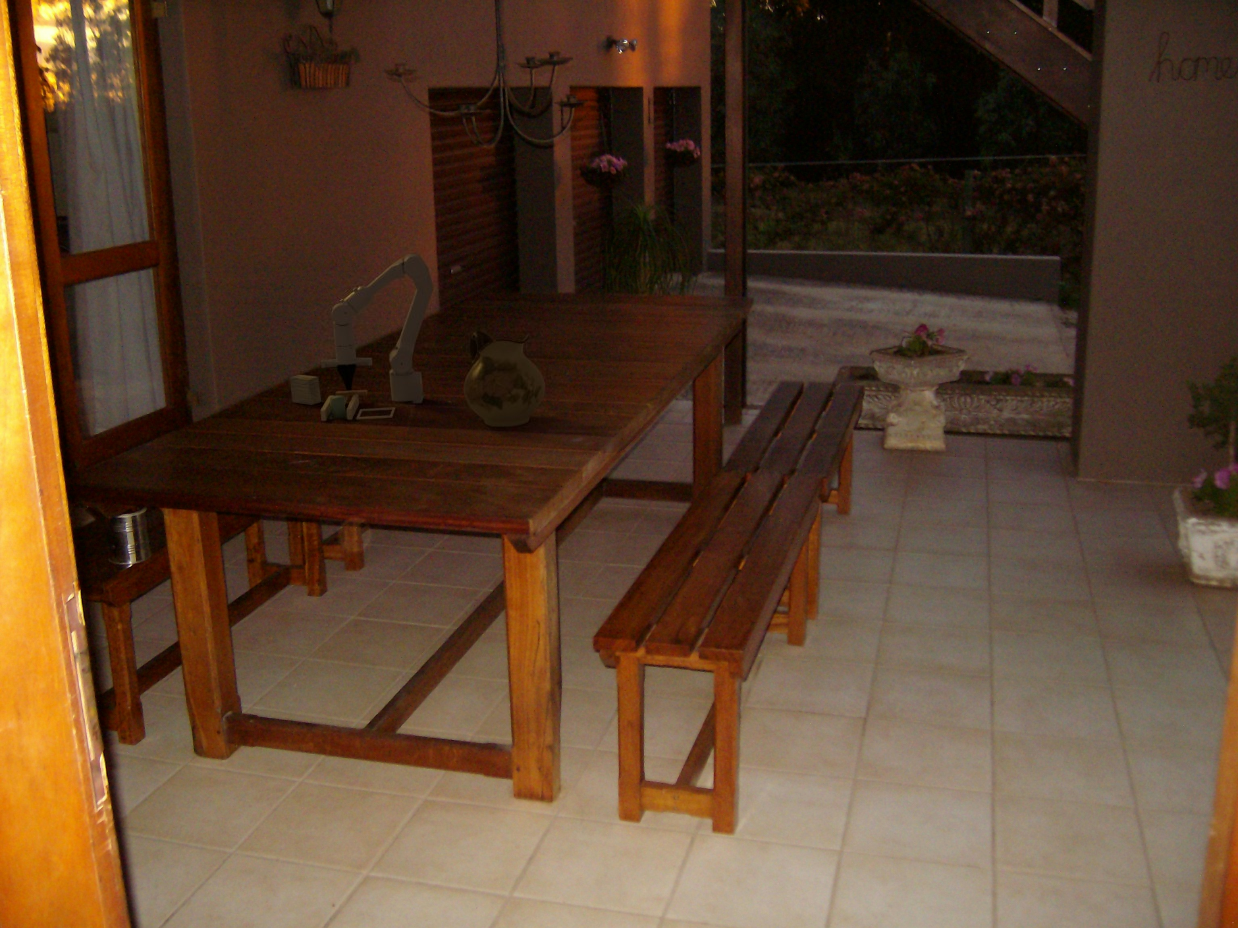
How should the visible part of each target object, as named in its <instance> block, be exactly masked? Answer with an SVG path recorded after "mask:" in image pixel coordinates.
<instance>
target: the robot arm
mask: <svg viewBox="0 0 1238 928" xmlns="http://www.w3.org/2000/svg"><path fill="white" fill-rule="evenodd" d="M405 275H407V277H408V278H409V279H411V281H412V283H413V284H414V287H415V288H416V289H415V292H414V294H413V297H412V300H411V304H410V306H409V310H408V312H407V315H406V318H405V321H404V323H403V327H402V329H401V334H400V335H399V338H398V340H397V342H396V345H395V347H394V349H392V350H391V351H390V352H389V355H388V360H389V361H388V362H389V363H390V367H391V369H390V370H389V373H388V374H389V383H390V385H389V386H390V394H391V401H392V402H393V401H394V402H409V401H412V404H422V402H423V400H424V390H423V379H422V372H421V371H415V370H414V368H413V358H412V357H413V354H414V350H415V345H416V342H417V339H418V336H419V333H420V331H421V327H422V324H423V321H424V318H425V315H426V312H427V310H428V307H429V303H430V300H431V299H432V295H433V292H434V283H433V280H432V277H431V273H430V268H429V267H428V265H427V264H426V262H425V260H423V258H422V256H421V255H420V254H418V253H416V252H410V253H407V254H405V255H404V256H403V257H402V258H399V259H398V260H397V261H395V262H393V263H392V264H391V265H390V266H389V267H387V268H386V269H385V270H384V271H383V272H382V273H381V274H380V275H378V276H377V277H376V278H375V279H374V280H372V281H371V282H370V283H369V284H368V285H367V286H364V285H359V286H358V287H357V286H355V287H353V289H352V291H353V292H351V293H350V294H348V296H346V297H345V298H341V299H340V300H339V301H340V302H339V303H337V304H335V305H334V306H333V307H332V309H331V313H330V314H331V318H332V320H333V325H332V326H333V339H334V349H335V358H333V359H332V358H331V359H329V358H328V359H321V360H320V365H321V367H320V368H323V369H324V368H334V367H337V372H338V374H339V376H340V378H341V379H342V382H343V383H344V386H345V391H353V380H354V377H355V376H354V375H355V373H356V369H357V367H358V366H373V359H372V357H357V354H356V344H355V342H356V341H355V334H354V331H355V330H354V328H353V320H354V319H353V318H354V316H358V315H359V314H360V313H361V312H362V311H363V310H365V309H366V308H367V307H368V306H370V304H372V303H374V296H375V295H376V294H377V293H378V292H380V291H381V290H383V289H384V288H385V287H387V286H388V285H389V284H391V283H392V282H393V281H395V280H398V279H406V276H405Z"/></svg>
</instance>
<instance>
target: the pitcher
mask: <svg viewBox="0 0 1238 928" xmlns="http://www.w3.org/2000/svg"><path fill="white" fill-rule="evenodd" d="M530 337H531V333H528V334H527V335H526V336H525V338H523V340H522V341H517V340H511V339H504V338H500V339H495V340H494V339H493V338H492V337H491V336H490V335H489V334H488V333H486V332H484V331H482V330H480V329H476V330H474V332H473V333H472V334H471V336H470V339H469V353H470V358H471V361H472V362H471V364H470V370H469V372H468V373H467V375H466V377H465V380H464V382H463V394H464V398H465V400H466V402H467V405H468V406H469V407H470V408H471V410H472V411H473V412H474V413H475V414H476V415H477V416H479V417H480V418H481V419H482V420H483V422H484V424H486V426H488V427H493V428H513V427H518V426H522V425H525V424H527V423H529V421H530V417H531V415H532V414H533V413H534V412H535V411H536V409H537V408H538V407H539V406H540V404H541V402H542V400H543V398H544V396H545V391H546V383H545V378H544V377H543V374H542V373H541V371H540V370H539V369H538V367H537V366H536V365H535V364H534V363H533V362H532V361H531V360H530V359H529V358H528V357H526V355H525V354H524V345H525V344H526V343H527V342H528V340H529V339H530Z"/></svg>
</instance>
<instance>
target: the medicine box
mask: <svg viewBox="0 0 1238 928" xmlns="http://www.w3.org/2000/svg"><path fill="white" fill-rule="evenodd" d="M289 384H290V392H291V400H292V403H295V404H303V405H309V406H312V405H315V404H319V403H321V402H322V398H321V388H320V381H319V377H318V376H314V375H306V374H297V375H294V376H292V377H289Z"/></svg>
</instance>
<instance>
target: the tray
mask: <svg viewBox="0 0 1238 928" xmlns="http://www.w3.org/2000/svg"><path fill="white" fill-rule="evenodd" d="M389 410H390V411H391V412H390V414H389V415H378V416H377V415H374V416H373V415H372V416H361V415H362V413H363V412H374V411H389ZM395 411H396V406H394V407H378V408H361V409H359V411H358V413H357V415H356V417H355V419H356V420H370V419H372V420H373V419H375V420H376V419H391V418H393V416H394V414H395Z"/></svg>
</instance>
